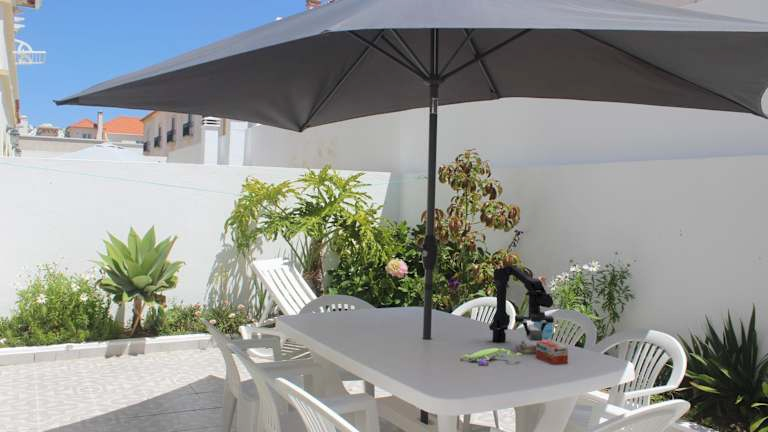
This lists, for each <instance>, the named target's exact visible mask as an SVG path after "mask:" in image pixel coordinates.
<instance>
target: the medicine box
mask: <svg viewBox="0 0 768 432" xmlns="http://www.w3.org/2000/svg"><path fill="white" fill-rule="evenodd" d="M535 343H536V354H535V357H536V358H537V359H539V360H542V361H544V362H546V363H549V364H551V365H558V364H562V363H563V364H568V361H569V360H568V359H569V357H568V356H569V355H568V353H569V349H568V346H566V345H563V344H560V343H557V342H554V341H551V340H542V341H535Z"/></svg>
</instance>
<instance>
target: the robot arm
mask: <svg viewBox="0 0 768 432" xmlns="http://www.w3.org/2000/svg"><path fill="white" fill-rule="evenodd" d="M511 276H513V277H514V278H515V279H516V280H518V281H519V282H520V283H522V284H523V285H524V286H523V287H524V288H525V289H526V290H527V292H526V293H525V296H528V316H524V315H523V314H516V315H515V316H514V321H515V322H516V323H520V324H522V325H523V327H524V330H525V335H526V334H527V336H528V328H527V327H528V322H527V321H530V322H531V323H534V322H541V326H540V329H541V330H542V332H543V329H544V327H545V325H546V324H548V323H552V324H553V323H554V320H555V319H554V317H553V315H547V316H545V315H546V312H545V311H541V307H543V308H548V309H549V308H551V307H552V306H553V305H554V299H553V297H551V294H550V293H547V291H546V289H545V287H544V285H543V283H542V280H540V279H538V278H535V277H531V276H529V275H528V274H527V273H525V272H524V271H523V270H521V269H520V268H519V267H517V265H515V264H514V265H513V264H512V265H511V264H509V265H507V266H504V267H501V268H495V269H494V270H493V281H494V282H495V284H496V311H495V313H494V315H493V317H492V318H493V320H492V322H491V323H490V324H489V326H488V327H489V330H490V331H492V339H491V341H492V343H505V342H506V340H507V338H506V337H507V336H506V335H507V334H506V330H508V328H509V325H510V323H511V321H510V320H511V319H510V318H511V316H510V315H509V314H508V313H507V285H508V283H509V281H510V277H511Z"/></svg>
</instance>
